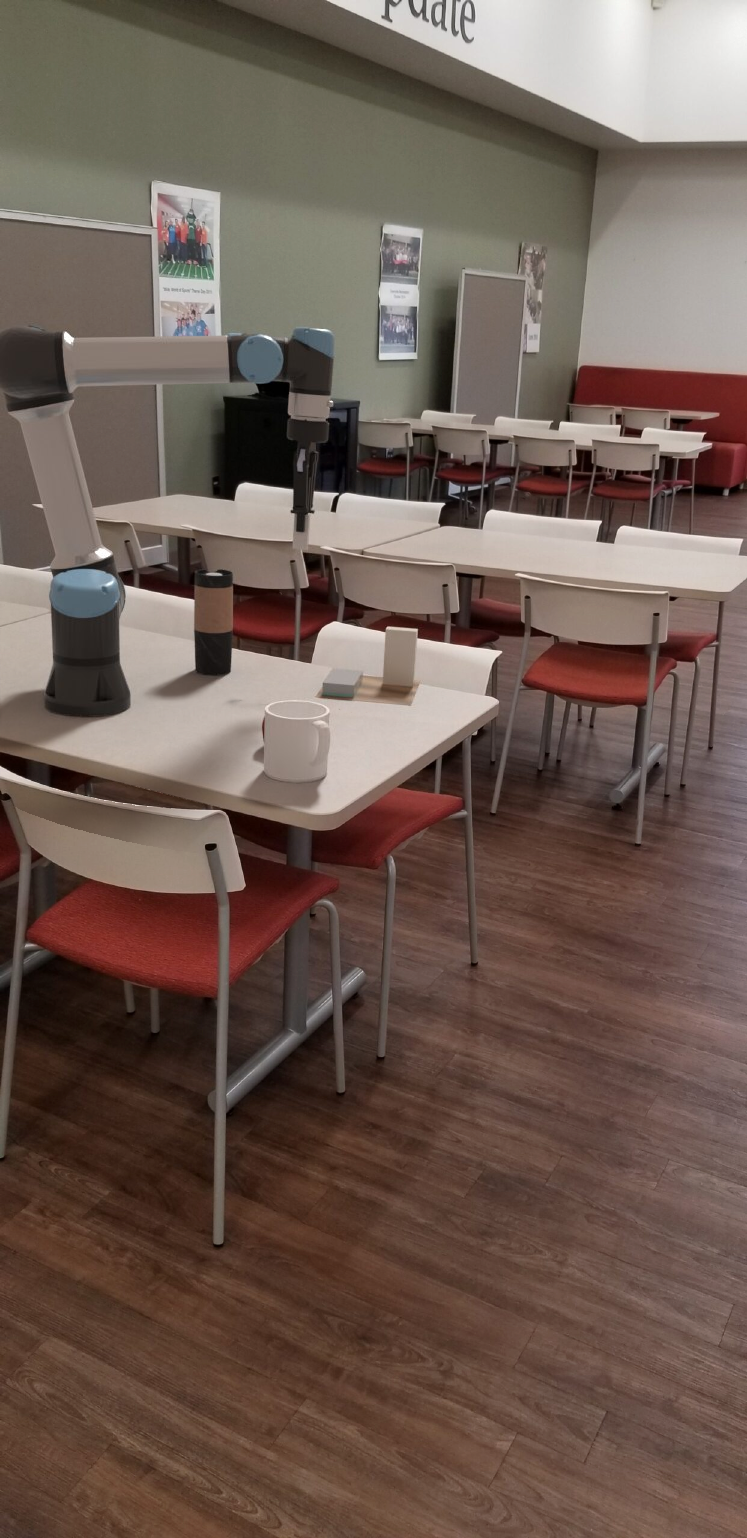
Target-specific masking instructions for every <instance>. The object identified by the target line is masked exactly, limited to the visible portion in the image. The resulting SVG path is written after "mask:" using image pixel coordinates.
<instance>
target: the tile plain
mask: <svg viewBox="0 0 747 1538" xmlns="http://www.w3.org/2000/svg"><path fill="white" fill-rule="evenodd" d="M418 631H419V629H418V628H410V627H399V626H387V627H386V628H385V634H384V635H385V636H384V650H383V651H384V654H383V671H382V672H383V674H382V677H383V684H387V685H398V686H410V687H413V686H414V681H415V680H416V664H417V662H416V661H417V648H418V647H417V646H418V634H419V633H418Z"/></svg>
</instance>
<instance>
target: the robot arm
mask: <svg viewBox="0 0 747 1538" xmlns="http://www.w3.org/2000/svg"><path fill="white" fill-rule="evenodd" d="M334 353H335V336H334V333H333V332H332V331H331V330H330V329H324V328H322V329H321V328H313V327H311V328H310V327H300V326H296V327H295V328H293V331H292V334H291V337H288V336H287V337H279V336H271V335H266V334H263V333H261V334H259V333H257V334H250V333H246V332H239V333H237V332H230V333H227V334H226V335H185V336H184V335H180V336H179V335H176V336H175V335H174V336H171V335H170V336H169V335H167V336H122V337H121V336H119V337H118V336H117V337H116V336H115V337H114V336H113V337H112V336H111V337H109V336H108V337H107V336H106V337H73V336H71V335H70V333H69V332H67V331H52V330H51V331H49V330H47V329H45V328H43V327H39V326H36V325H33V324H29V325H13V326H9V327H7V328H4V329H2V330H1V331H0V391H1V393H2V394H3V395H2V396H3V399H4V402H5V405H6V408H7V413H8V415H10V416H11V417H13V418H14V419H16V420H17V421H18V422H19V424H20V428H21V432H22V434H23V438H24V442H25V446H26V450H27V453H28V457H29V460H30V465H31V468H32V472H33V476H34V480H35V483H36V487H37V491H38V494H39V499H40V502H41V505H42V510H43V512H44V513H43V514H44V517H45V519H46V525H47V529H48V532H49V535H50V538H51V542H52V546H53V550H54V554H55V555H54V558H53V559H52V561H51V563H50V565H49V568H50V572H51V574H52V579H51V581H50V586H49V587H50V589H49V592H48V600H49V602H50V619H51V620H50V621H51V642H52V643H51V645H52V647H51V648H52V666H51V669H50V672H49V677H48V679H47V683H46V685H45V686H46V687H45V689H44V693H43V694H44V695H43V698H44V699H43V701H44V702H43V703H44V708H45V709H46V710H48V711H50V712H52V713H54V714H58V715H63V716H71V717H100V716H101V717H102V716H108V715H114V714H118V713H121V712H123V711H125V710H127V709H128V708H130V707H131V704H132V703H131V702H132V701H131V696H132V694H131V690H130V688H129V685H128V681H127V678H126V676H125V673H124V671H123V668H122V665H121V653H120V652H121V651H120V650H121V649H120V644H121V643H120V619H121V615H122V613H123V611H124V608H125V604H126V588H125V584H124V582H123V581H122V578H121V576H120V575H119V573H118V568H117V565H116V561H115V558H114V554H113V551H112V550H110V549H108V548H107V547H105V546H104V545H103V543H102V538H101V535H100V532H99V528H98V523H97V519H96V515H95V512H94V508H93V504H92V499H91V495H90V493H89V488H88V484H87V480H86V476H85V473H84V468H83V464H82V460H81V458H80V457H81V456H80V453H79V449H78V446H77V441H76V438H75V434H74V433H75V432H74V430H73V425H72V420H71V418H70V414H69V413H70V409H71V408H72V406H73V404H74V402H75V398H74V394H73V392H74V391H75V390H76V389H77V388H78V387H104V386H105V387H107V386H109V387H110V386H111V387H113V386H115V387H116V386H145V385H147V386H148V385H151V386H152V385H154V386H155V385H186V384H187V385H188V384H193V385H194V384H195V385H196V384H226V383H227V384H230V383H231V384H232V383H233V384H238V383H239V384H246V383H247V384H249V383H251V384H252V383H254V384H256V385H258V384H259V385H262V384H268V383H271V382H283V383H285V382H286V383H289V392H288V393H289V394H288V402H287V403H288V405H287V414H288V416H290V417H289V418H288V419H287V425H286V426H287V429H286V438H287V439H288V440H291V441H294V442H295V441H297V449H296V450H294V452H293V461H292V466H293V481H292V482H293V483H292V485H293V487H292V488H293V491H292V494H293V495H292V509H290V514H294V518H293V533H292V549H293V550H301V551H302V550H303V551H308V550H309V540H310V525H311V522H310V521H311V514H312V515H314V514H315V512H316V511H315V509H313V507H314V493H315V485H316V478H317V476H316V475H317V466H318V461H319V451H317V447H316V446H317V443H319V444H323V443H324V444H325V443H327V442H328V440H329V430H330V429H329V428H330V423H329V422H328V420H326V419H328V418H330V410H331V409H330V408H331V407H334V401H332V400H331V399H332V398H331V395H332V387H333V385H332V384H333V375H334V374H333V373H334V361H335V354H334Z"/></svg>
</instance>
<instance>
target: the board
mask: <svg viewBox="0 0 747 1538" xmlns="http://www.w3.org/2000/svg"><path fill="white" fill-rule="evenodd" d="M420 683H421V679H419V680H418V679H415V681H414V686H413V687H410V686H398V685H387V684H383V676H376V675H375V676H374V675H365V674H364V675H363V680H362V684H361V686H360V688H359V689H358V691H357V693H356V694H355V696H354V698H352V697H340V696H329V695H322V687H323V685H322V687H321V688H320V689H319V691H318V692H317V693H316V695H315V698H323V699H335V700H343V701H344V700H345V701H353V702H354V701H357V702H366V703H367V702H368V703H377V704H378V703H379V704H389V705H401V706H402V705H403V706H410V707H411V706H412V703H413V701H414V699H415V697H416V694H417V691H418V689H419V686H420Z"/></svg>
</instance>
